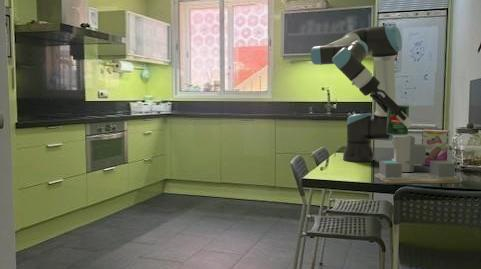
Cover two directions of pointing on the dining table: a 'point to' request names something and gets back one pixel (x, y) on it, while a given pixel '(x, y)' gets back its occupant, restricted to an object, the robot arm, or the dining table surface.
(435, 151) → the candy bar box
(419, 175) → the tan flat panel
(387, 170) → the block
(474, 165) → the dining table surface
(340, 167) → the dining table surface
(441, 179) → the board
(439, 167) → the module
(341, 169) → the dining table surface
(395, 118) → the canned tomato
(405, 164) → the circuit breaker
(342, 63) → the robot arm
